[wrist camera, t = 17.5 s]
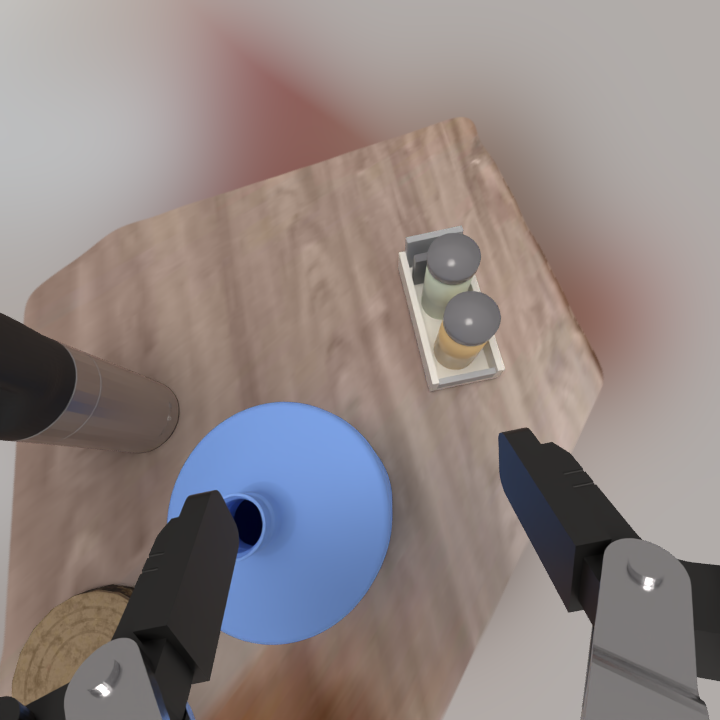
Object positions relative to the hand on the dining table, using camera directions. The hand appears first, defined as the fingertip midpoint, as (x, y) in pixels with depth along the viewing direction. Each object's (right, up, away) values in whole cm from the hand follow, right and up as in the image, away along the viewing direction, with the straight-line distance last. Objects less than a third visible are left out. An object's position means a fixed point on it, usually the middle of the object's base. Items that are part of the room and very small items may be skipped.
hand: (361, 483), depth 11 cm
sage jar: (+10, +11, +40) cm, 43 cm away
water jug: (-4, -13, +35) cm, 38 cm away
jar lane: (+11, +9, +40) cm, 42 cm away
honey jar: (+12, +5, +38) cm, 40 cm away
